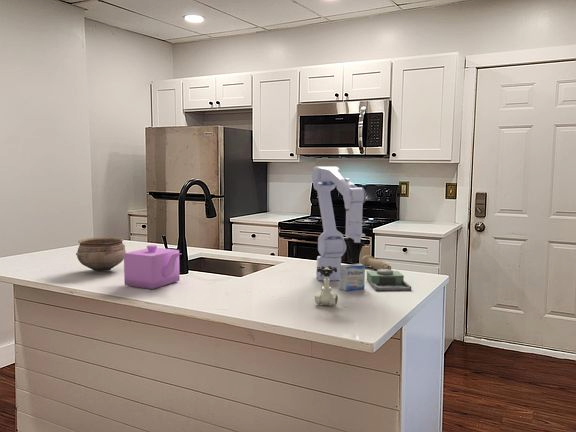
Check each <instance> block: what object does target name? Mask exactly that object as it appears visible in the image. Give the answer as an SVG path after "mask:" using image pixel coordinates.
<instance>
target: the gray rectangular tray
mask: <svg viewBox="0 0 576 432" xmlns="http://www.w3.org/2000/svg"><path fill="white" fill-rule="evenodd" d="M370 286H371V287H372V289H373V290H374V291H375V292H402V291H403V292H406V291H407V292H408V291H409V292H410V291H412V286H411V285H410V284H409V283H408V282H407V281H405V280H404V281H402V284H375V283H374V282H373V281H371V284H370Z"/></svg>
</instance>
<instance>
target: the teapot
mask: <svg viewBox="0 0 576 432" xmlns="http://www.w3.org/2000/svg"><path fill="white" fill-rule="evenodd" d="M180 255H182V253H180V249H173V248H162V247H158V245H156V244H151V245H150V244H148V245H146V248H143V249H138V250H133V251H128V252H126V253H124V259H123V275H124V286H128V287H135V288H141V289H149V290H155V289H157V288H161V287H163V286H166V285H167V286H168V285H170V284H173V283H176V282H180V281H181V280H180Z"/></svg>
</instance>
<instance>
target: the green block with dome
mask: <svg viewBox="0 0 576 432" xmlns="http://www.w3.org/2000/svg"><path fill="white" fill-rule="evenodd" d="M404 277H405V275H403V274H402V273H401V272H400V271H399V270H392V269H391V270H389V269H379V270H377V269H376V270H368V271H366V281H367V283H369V284H370V285H371V281H373V282H374V283H375V284H402V281H405V280H404V279H405V278H404Z"/></svg>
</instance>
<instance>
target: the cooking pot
mask: <svg viewBox="0 0 576 432" xmlns="http://www.w3.org/2000/svg"><path fill="white" fill-rule="evenodd" d="M123 241H124V238H122V237H114V236H113V237H111V236H110V237H107V236H106V237H92V238H91V237H90V238H84V239H81V240H78V243H79V246H78V248H77V251H76V253H75V255H76V257H77V260H78V262H79V263H80V264H81V265H82V266H84V267H86V268H88V269H90V270H93V271H94V272H107V271H111V270H112V269H113V268H115V267H117V266H119V264H121V263H122V262H124V253H127V252H126V249H125V248H126V245H125V244H124V243H123Z"/></svg>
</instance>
